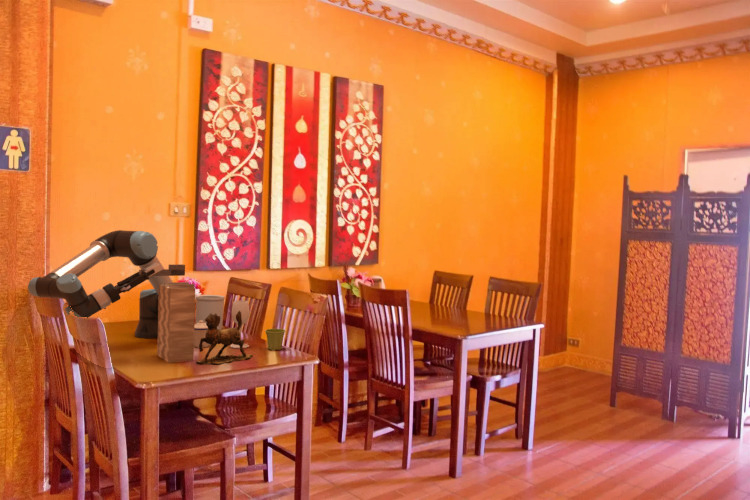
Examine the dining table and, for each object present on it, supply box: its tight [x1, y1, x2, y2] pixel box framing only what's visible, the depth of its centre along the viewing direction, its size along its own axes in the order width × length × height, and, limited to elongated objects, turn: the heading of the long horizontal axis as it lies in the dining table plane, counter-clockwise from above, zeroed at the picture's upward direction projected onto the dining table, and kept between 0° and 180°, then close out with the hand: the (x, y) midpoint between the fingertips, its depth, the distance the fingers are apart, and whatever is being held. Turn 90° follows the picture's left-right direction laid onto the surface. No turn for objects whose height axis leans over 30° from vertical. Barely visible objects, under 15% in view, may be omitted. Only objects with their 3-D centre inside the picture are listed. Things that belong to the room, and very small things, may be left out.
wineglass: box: [229, 299, 251, 349], centre depth 280 cm, size 9×9×21 cm
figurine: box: [195, 311, 254, 366], centre depth 252 cm, size 13×25×20 cm, turn 128°
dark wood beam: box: [138, 263, 186, 277], centre depth 253 cm, size 3×18×4 cm, turn 126°
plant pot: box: [264, 328, 286, 351], centre depth 278 cm, size 9×9×9 cm
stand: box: [156, 281, 196, 364], centre depth 252 cm, size 16×10×32 cm, turn 36°
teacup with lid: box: [194, 321, 211, 349], centre depth 279 cm, size 12×9×12 cm
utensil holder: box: [195, 294, 225, 330], centre depth 322 cm, size 15×15×18 cm
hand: (159, 266), depth 252 cm, fingers closed on dark wood beam, 3 cm apart
